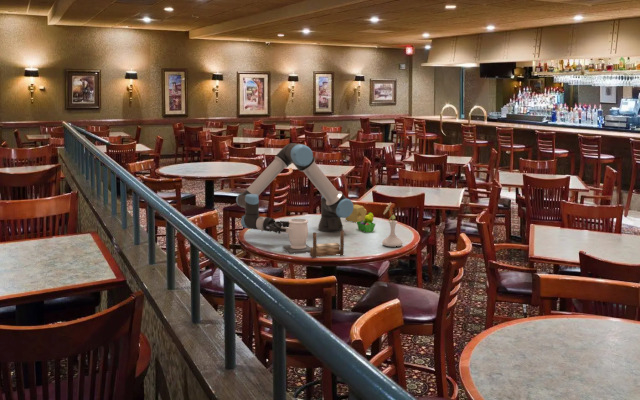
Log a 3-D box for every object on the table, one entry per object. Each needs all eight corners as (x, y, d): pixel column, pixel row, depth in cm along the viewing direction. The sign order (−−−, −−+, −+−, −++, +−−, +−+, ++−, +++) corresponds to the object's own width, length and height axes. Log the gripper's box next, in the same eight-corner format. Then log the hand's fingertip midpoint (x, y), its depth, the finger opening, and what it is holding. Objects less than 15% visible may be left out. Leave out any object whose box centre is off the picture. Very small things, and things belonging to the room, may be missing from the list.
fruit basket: (355, 229, 398) (356, 211, 396) (367, 228, 402) (368, 210, 400) (365, 233, 388) (365, 215, 386) (377, 232, 392) (378, 213, 390)
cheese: (367, 221, 425) (367, 206, 423) (356, 223, 417) (356, 208, 415) (355, 218, 432) (355, 204, 430) (344, 221, 424) (344, 206, 422)
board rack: (339, 252, 342) (339, 228, 340) (344, 255, 336) (344, 231, 334) (309, 254, 337) (309, 230, 335) (313, 257, 330) (313, 233, 328)
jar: (310, 246, 350) (310, 219, 347) (304, 250, 340) (304, 222, 338) (292, 244, 353) (292, 217, 351) (285, 248, 344) (285, 221, 341)
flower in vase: (389, 242, 366) (390, 199, 361) (406, 245, 358) (407, 201, 354) (376, 246, 356) (377, 202, 351) (393, 249, 348) (394, 204, 344)
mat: (305, 246, 355) (305, 243, 355) (313, 252, 342) (313, 249, 342) (283, 247, 351) (283, 245, 351) (290, 253, 338) (290, 251, 338)
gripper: (279, 226, 366) (310, 231, 356) (252, 235, 345) (285, 239, 335) (279, 213, 365) (310, 217, 354) (252, 221, 344) (285, 225, 333)
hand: (298, 228), depth 345 cm, fingers open, 13 cm apart
